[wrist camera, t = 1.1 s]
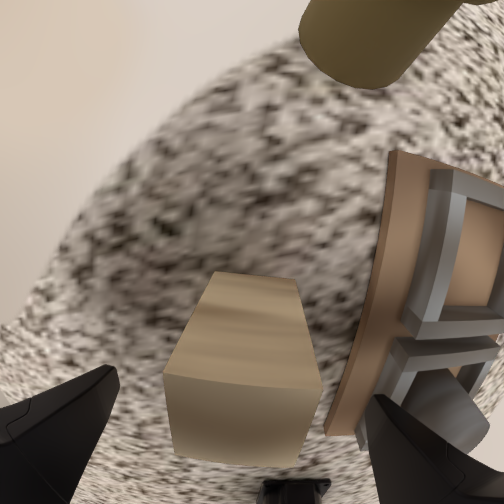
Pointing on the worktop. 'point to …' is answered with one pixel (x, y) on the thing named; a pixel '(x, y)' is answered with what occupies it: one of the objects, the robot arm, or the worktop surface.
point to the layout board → (429, 303)
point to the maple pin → (243, 374)
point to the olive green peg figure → (371, 36)
